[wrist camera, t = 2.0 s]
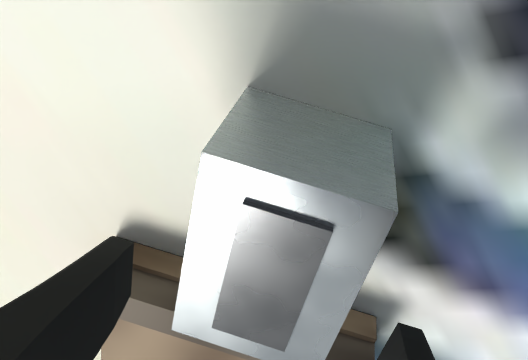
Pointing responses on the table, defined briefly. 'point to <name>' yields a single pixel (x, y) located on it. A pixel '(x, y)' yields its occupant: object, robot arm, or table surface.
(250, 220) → the block
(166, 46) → the table surface
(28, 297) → the robot arm
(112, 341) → the board
